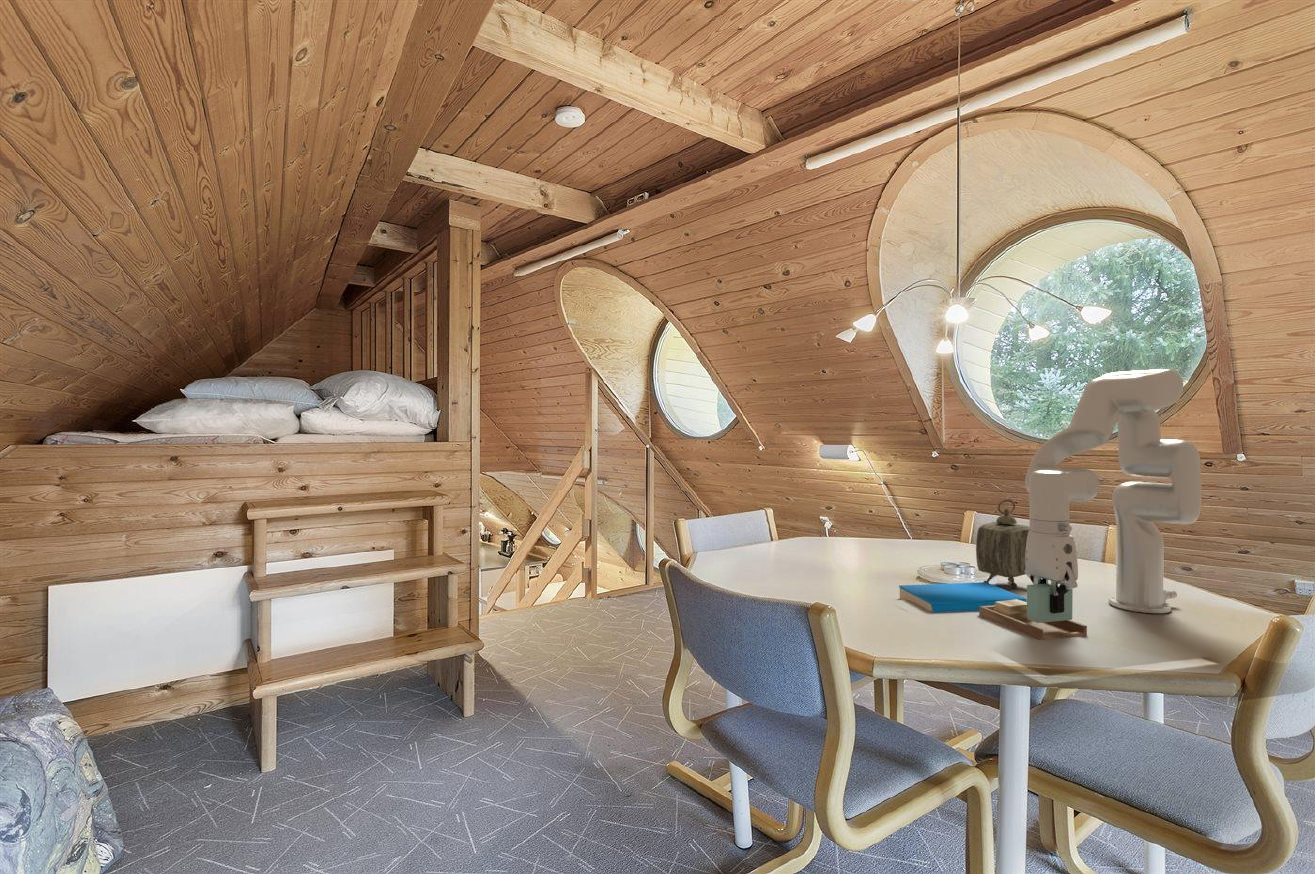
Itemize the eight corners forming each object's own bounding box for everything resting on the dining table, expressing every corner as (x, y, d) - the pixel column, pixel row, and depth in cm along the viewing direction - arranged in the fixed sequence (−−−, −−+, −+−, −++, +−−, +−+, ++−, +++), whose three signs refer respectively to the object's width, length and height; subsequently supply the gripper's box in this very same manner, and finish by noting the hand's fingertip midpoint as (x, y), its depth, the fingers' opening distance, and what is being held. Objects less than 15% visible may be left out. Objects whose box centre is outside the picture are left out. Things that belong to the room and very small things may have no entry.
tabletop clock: (1009, 580, 190) (1009, 496, 189) (1039, 587, 182) (1039, 499, 181) (975, 586, 184) (976, 499, 183) (1004, 593, 175) (1005, 502, 175)
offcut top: (1016, 606, 153) (1016, 599, 153) (1031, 611, 149) (1031, 603, 149) (995, 609, 151) (995, 601, 151) (1009, 614, 147) (1009, 606, 147)
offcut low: (1018, 613, 153) (1019, 606, 153) (1033, 619, 149) (1033, 611, 149) (993, 616, 152) (993, 608, 152) (1008, 621, 147) (1008, 614, 147)
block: (1060, 615, 143) (1061, 582, 143) (1072, 619, 140) (1072, 585, 140) (1026, 618, 141) (1026, 585, 141) (1037, 622, 138) (1037, 588, 138)
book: (898, 585, 172) (985, 580, 175) (898, 601, 172) (985, 596, 175) (932, 603, 155) (1028, 597, 158) (932, 621, 155) (1028, 614, 158)
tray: (1021, 615, 155) (1022, 602, 155) (1086, 640, 138) (1086, 625, 138) (979, 619, 153) (979, 606, 153) (1039, 645, 135) (1039, 630, 135)
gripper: (1096, 532, 133) (1097, 619, 134) (1034, 519, 149) (1034, 598, 149) (1066, 534, 131) (1067, 623, 132) (1006, 522, 147) (1007, 601, 148)
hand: (1050, 609), depth 141 cm, fingers closed on block, 3 cm apart
